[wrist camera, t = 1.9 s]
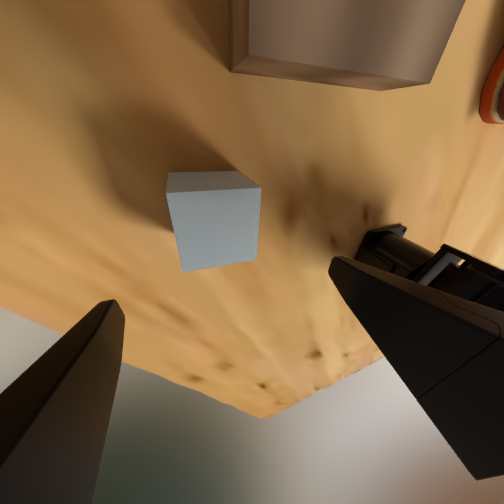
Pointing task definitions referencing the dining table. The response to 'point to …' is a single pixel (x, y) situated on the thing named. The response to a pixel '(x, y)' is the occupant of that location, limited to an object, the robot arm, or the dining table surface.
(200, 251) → the slate cube
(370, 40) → the walnut block
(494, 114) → the hamburger
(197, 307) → the dining table surface
